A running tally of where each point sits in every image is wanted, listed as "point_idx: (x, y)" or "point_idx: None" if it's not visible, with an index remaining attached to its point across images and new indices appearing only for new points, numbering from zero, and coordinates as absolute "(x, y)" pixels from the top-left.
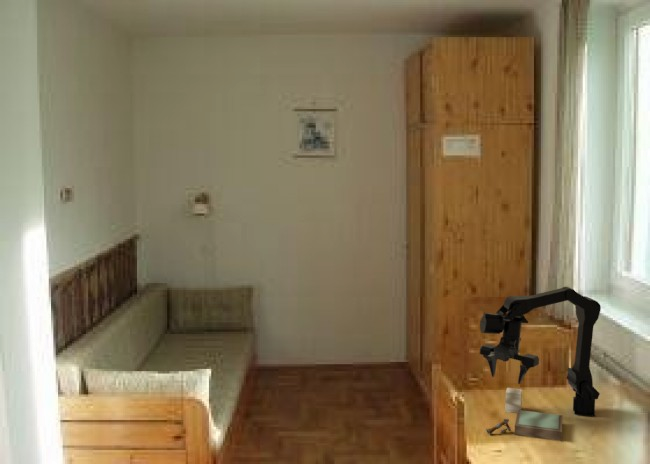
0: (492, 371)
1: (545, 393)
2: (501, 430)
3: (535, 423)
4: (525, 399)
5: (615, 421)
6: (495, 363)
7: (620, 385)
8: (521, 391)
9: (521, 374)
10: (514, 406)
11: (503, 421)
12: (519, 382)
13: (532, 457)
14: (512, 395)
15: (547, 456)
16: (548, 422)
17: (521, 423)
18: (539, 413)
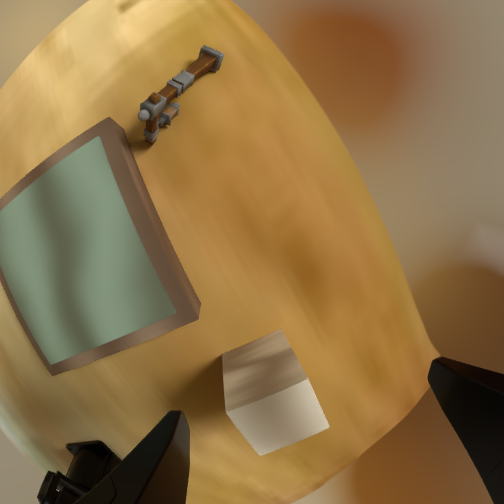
0: (470, 374)
1: (255, 498)
2: (174, 106)
3: (49, 206)
4: (278, 454)
5: (33, 436)
6: (484, 454)
7: None
8: (246, 438)
9: (115, 484)
10: (248, 360)
11: (161, 97)
12: (164, 418)
13: (36, 50)
14: (268, 387)
15: (7, 89)
16: (26, 261)
17: (89, 153)
18: (98, 335)
